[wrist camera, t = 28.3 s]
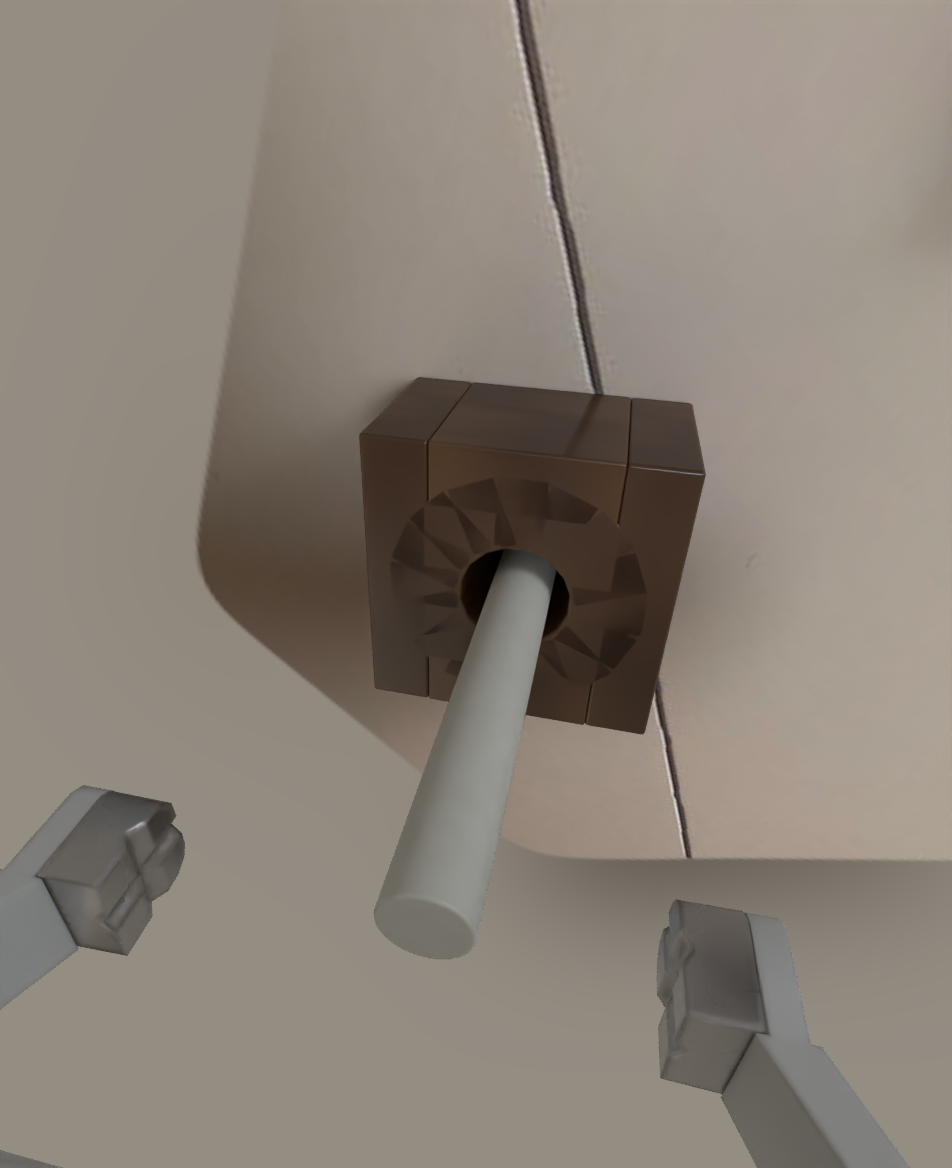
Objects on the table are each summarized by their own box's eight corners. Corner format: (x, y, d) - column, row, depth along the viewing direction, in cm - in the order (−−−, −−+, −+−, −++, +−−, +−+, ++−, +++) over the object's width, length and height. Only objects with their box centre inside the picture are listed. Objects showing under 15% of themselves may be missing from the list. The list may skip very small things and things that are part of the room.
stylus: (516, 535, 22) (374, 947, 11) (519, 490, 21) (370, 886, 10) (564, 541, 22) (474, 970, 10) (569, 496, 21) (478, 911, 9)
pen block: (419, 599, 24) (373, 689, 20) (416, 376, 20) (357, 433, 16) (644, 632, 23) (644, 736, 19) (693, 403, 19) (707, 472, 15)
